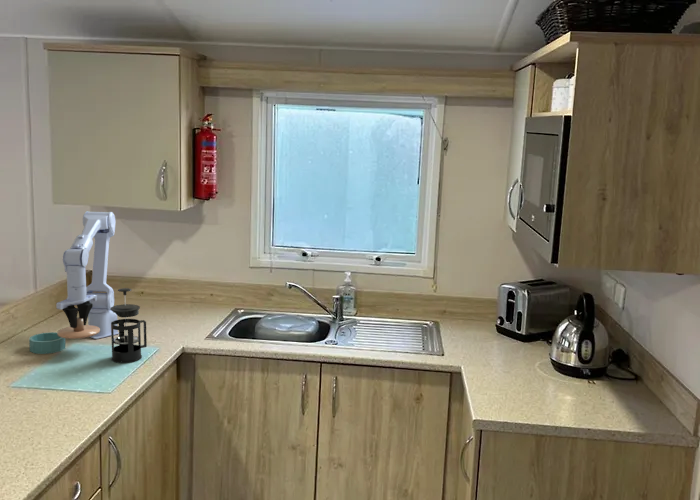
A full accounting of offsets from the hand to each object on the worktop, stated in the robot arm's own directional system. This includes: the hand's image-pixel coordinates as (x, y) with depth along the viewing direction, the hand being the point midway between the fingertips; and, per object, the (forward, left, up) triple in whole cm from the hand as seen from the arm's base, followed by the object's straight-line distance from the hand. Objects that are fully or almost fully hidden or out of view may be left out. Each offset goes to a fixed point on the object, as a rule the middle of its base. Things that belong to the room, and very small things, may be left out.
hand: (78, 326), depth 228 cm
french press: (-8, +16, -9) cm, 20 cm away
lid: (0, 0, -2) cm, 2 cm away
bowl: (+5, -11, -9) cm, 15 cm away
